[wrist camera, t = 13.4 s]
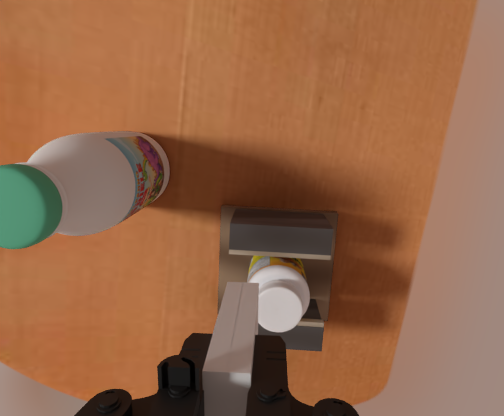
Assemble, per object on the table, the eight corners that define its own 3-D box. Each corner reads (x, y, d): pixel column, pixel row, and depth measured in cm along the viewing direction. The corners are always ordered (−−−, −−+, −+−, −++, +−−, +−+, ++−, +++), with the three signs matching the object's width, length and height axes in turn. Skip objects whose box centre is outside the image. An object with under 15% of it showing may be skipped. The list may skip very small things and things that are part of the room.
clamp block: (222, 205, 40) (212, 221, 33) (336, 211, 40) (350, 229, 33) (218, 309, 42) (209, 344, 36) (326, 316, 42) (337, 353, 35)
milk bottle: (95, 198, 40) (-66, 265, 21) (101, 125, 39) (-69, 123, 19) (167, 210, 40) (72, 289, 21) (175, 137, 39) (81, 149, 19)
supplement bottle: (312, 271, 40) (327, 318, 30) (269, 299, 41) (270, 354, 31) (282, 229, 39) (286, 264, 29) (239, 259, 40) (229, 302, 30)
